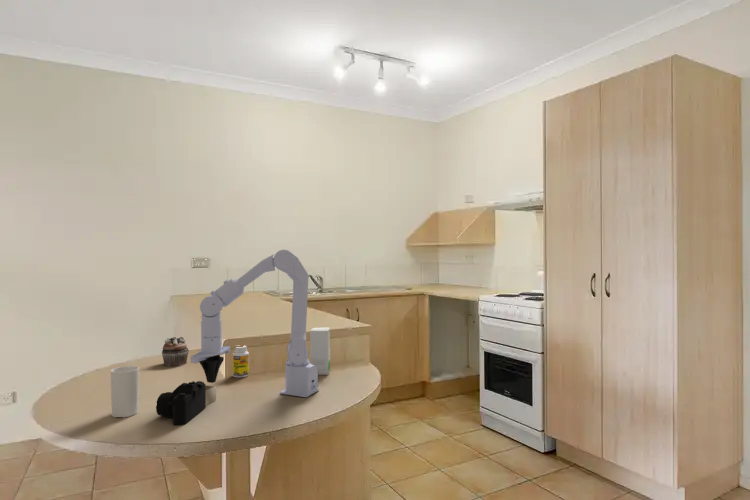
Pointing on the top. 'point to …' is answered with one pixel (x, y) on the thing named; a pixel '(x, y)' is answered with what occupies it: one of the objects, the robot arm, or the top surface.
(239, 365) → the supplement bottle
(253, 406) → the top surface
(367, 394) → the top surface
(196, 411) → the film camera
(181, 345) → the cupcake
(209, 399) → the walnut block
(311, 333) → the skincare box
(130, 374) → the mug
